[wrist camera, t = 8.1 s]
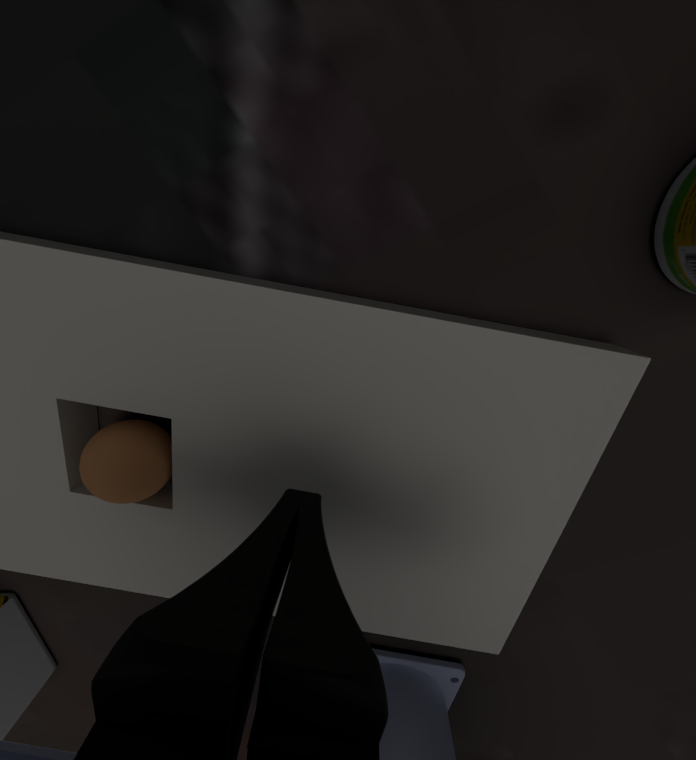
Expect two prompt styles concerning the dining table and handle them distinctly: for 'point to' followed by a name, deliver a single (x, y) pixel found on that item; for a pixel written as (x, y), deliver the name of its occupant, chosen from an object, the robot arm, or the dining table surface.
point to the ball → (127, 461)
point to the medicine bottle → (19, 661)
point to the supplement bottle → (678, 231)
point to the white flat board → (296, 434)
